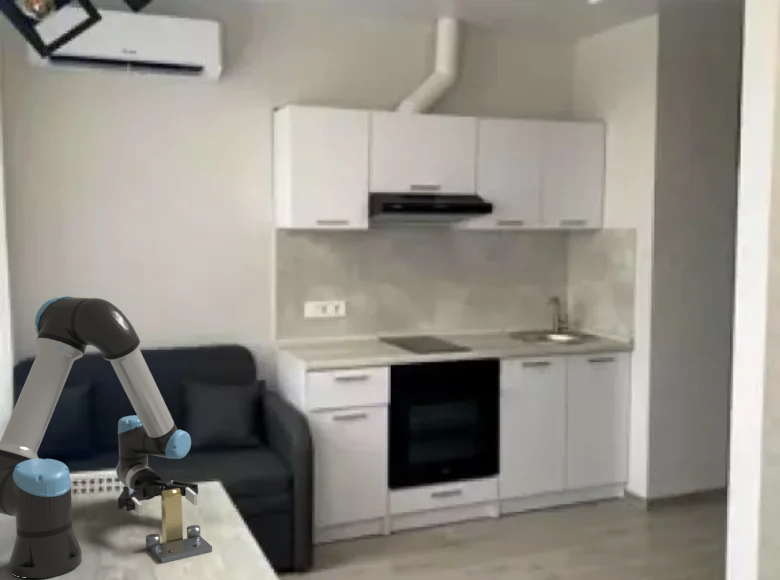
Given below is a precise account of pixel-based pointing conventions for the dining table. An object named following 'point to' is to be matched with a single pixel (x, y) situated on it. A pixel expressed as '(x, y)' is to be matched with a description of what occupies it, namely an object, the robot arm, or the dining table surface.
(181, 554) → the fixed leaf
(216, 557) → the dining table surface
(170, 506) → the brass rectangular post
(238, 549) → the dining table surface
